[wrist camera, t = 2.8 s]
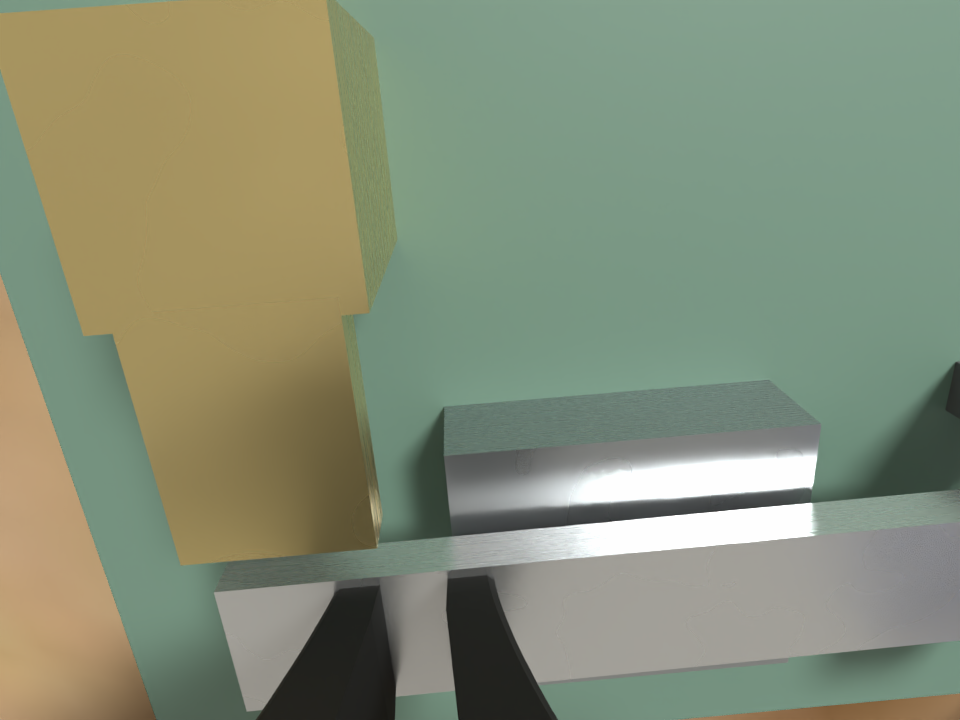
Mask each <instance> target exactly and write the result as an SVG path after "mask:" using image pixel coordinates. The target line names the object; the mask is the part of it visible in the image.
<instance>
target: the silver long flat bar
mask: <svg viewBox="0 0 960 720" xmlns="http://www.w3.org/2000/svg"><path fill="white" fill-rule="evenodd" d="M481 575H488V576H489V577H491V578H492V579H493V580H495V585H496V589H497V592H498V596H499V599H500V602H501V605H502V608H503V611H504V613H505V616H506V619H507V621H508V623H509V626H510V628H511V630H512V633H513V635H514V637H515V640H516V642H517V644H518V646H519V648H520V650H521V652H522V655H523V656H524V658H525V660H526V662H527V664H528V666H529V668H530V670H531V672H532V674H533V676H534V678H535V680H536V682H537V683H539V682H549V681H559V680H569V679H579V678H589V677H599V676H609V675H619V674H629V673H639V672H649V671H659V670H669V669H679V668H689V667H699V666H709V665H719V664H729V663H739V662H749V661H759V660H769V659H779V658H789V657H799V656H809V655H819V654H829V653H839V652H849V651H859V650H869V649H879V648H889V647H900V646H910V645H920V644H930V643H940V642H950V641H960V489H958V490H947V491H936V492H926V493H915V494H904V495H893V496H883V497H872V498H861V499H850V500H840V501H829V502H818V503H807V504H797V505H786V506H775V507H764V508H754V509H743V510H732V511H721V512H711V513H700V514H689V515H678V516H668V517H657V518H646V519H635V520H625V521H614V522H603V523H592V524H582V525H571V526H560V527H549V528H539V529H528V530H517V531H506V532H496V533H485V534H474V535H463V536H453V537H442V538H431V539H420V540H409V541H399V542H388V543H378V547H377V549H366V550H354V551H343V552H331V553H320V554H308V555H297V556H285V557H274V558H262V559H251V560H239V561H228V563H227V565H226V568H225V570H224V572H223V574H222V576H221V578H220V580H219V582H218V585H217V587H216V589H215V591H214V595H215V599H216V602H217V606H218V609H219V613H220V617H221V620H222V624H223V628H224V631H225V635H226V638H227V642H228V646H229V649H230V653H231V656H232V660H233V664H234V667H235V671H236V674H237V678H238V682H239V685H240V689H241V693H242V696H243V700H244V703H245V707H246V711H247V712H248V711H258V710H263V709H264V707H265V706H266V704H267V703H268V701H269V700H270V698H271V697H272V695H273V694H274V692H275V691H276V689H277V687H278V686H279V684H280V683H281V681H282V680H283V678H284V677H285V675H286V674H287V672H288V671H289V669H290V668H291V666H292V665H293V663H294V662H295V660H296V658H297V657H298V655H299V654H300V652H301V650H302V649H303V647H304V645H305V644H306V642H307V641H308V639H309V637H310V636H311V634H312V632H313V631H314V629H315V627H316V626H317V624H318V622H319V620H320V619H321V617H322V615H323V613H324V612H325V610H326V608H327V606H328V605H329V603H330V601H331V599H332V597H333V596H334V594H335V593H336V592H337V591H338V590H339V589H342V588H354V587H364V586H375V585H380V589H381V595H382V601H383V608H384V614H385V620H386V627H387V633H388V640H389V646H390V652H391V659H392V665H393V671H394V678H395V684H396V697H398V696H408V695H418V694H428V693H438V692H448V691H455V686H454V677H453V668H452V659H451V650H450V641H449V632H448V623H447V614H446V598H447V579H450V578H461V577H471V576H481Z"/></svg>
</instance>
